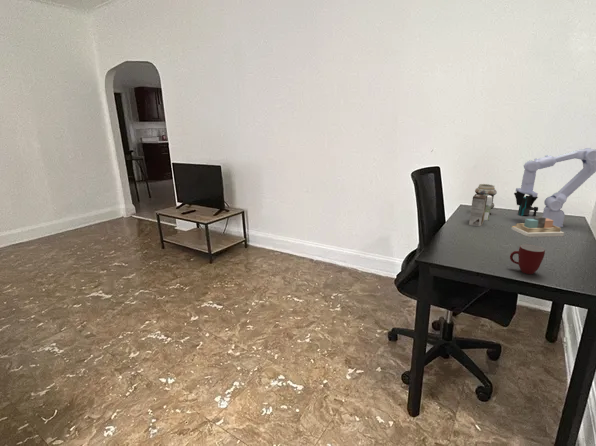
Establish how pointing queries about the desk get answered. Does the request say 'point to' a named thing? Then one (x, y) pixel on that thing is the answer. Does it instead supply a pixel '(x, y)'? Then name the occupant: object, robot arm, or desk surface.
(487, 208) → the syrup box
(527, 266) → the mug
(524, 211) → the surveillance camera
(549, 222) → the block
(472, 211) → the coffee box
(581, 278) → the desk surface
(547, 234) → the dock
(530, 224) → the light teal cube
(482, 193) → the stone pedestal urn
